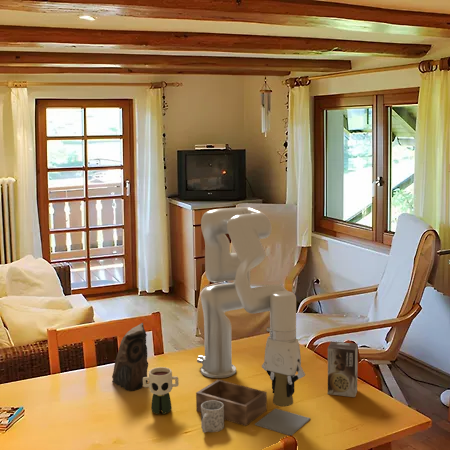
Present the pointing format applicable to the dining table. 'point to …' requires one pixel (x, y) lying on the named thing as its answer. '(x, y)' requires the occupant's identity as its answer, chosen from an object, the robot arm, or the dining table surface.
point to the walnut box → (234, 401)
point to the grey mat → (282, 421)
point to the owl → (131, 360)
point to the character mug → (160, 388)
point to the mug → (212, 416)
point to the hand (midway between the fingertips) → (283, 393)
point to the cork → (281, 391)
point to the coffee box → (342, 368)
